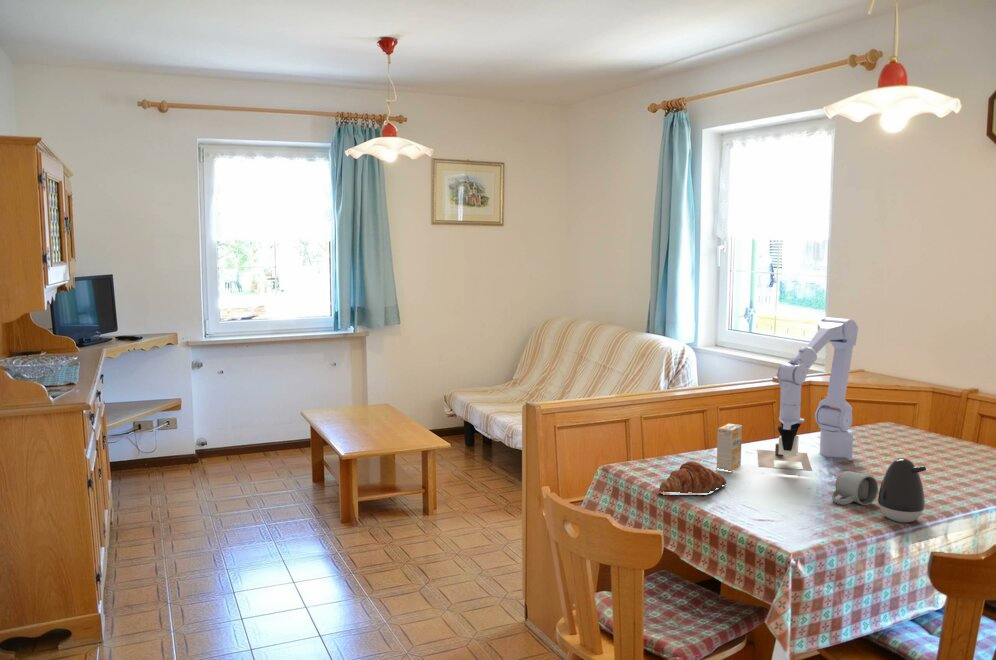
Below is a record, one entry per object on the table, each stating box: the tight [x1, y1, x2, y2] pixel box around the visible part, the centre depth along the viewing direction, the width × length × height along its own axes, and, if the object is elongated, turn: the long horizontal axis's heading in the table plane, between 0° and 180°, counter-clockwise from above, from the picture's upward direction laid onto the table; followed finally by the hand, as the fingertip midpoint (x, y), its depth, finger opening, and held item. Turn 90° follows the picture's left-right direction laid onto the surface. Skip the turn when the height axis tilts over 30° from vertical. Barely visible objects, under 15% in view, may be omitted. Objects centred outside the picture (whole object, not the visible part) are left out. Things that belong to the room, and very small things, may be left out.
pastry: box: [658, 461, 727, 493], centre depth 214 cm, size 17×15×8 cm
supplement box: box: [716, 423, 743, 471], centre depth 233 cm, size 8×5×13 cm, turn 143°
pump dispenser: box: [877, 457, 927, 523], centre depth 190 cm, size 10×10×15 cm
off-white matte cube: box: [778, 434, 800, 456], centre depth 234 cm, size 5×5×5 cm
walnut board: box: [756, 442, 813, 472], centre depth 240 cm, size 15×20×4 cm
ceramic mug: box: [831, 470, 879, 506], centre depth 204 cm, size 11×8×8 cm
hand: (788, 448), depth 234 cm, fingers closed on off-white matte cube, 5 cm apart
